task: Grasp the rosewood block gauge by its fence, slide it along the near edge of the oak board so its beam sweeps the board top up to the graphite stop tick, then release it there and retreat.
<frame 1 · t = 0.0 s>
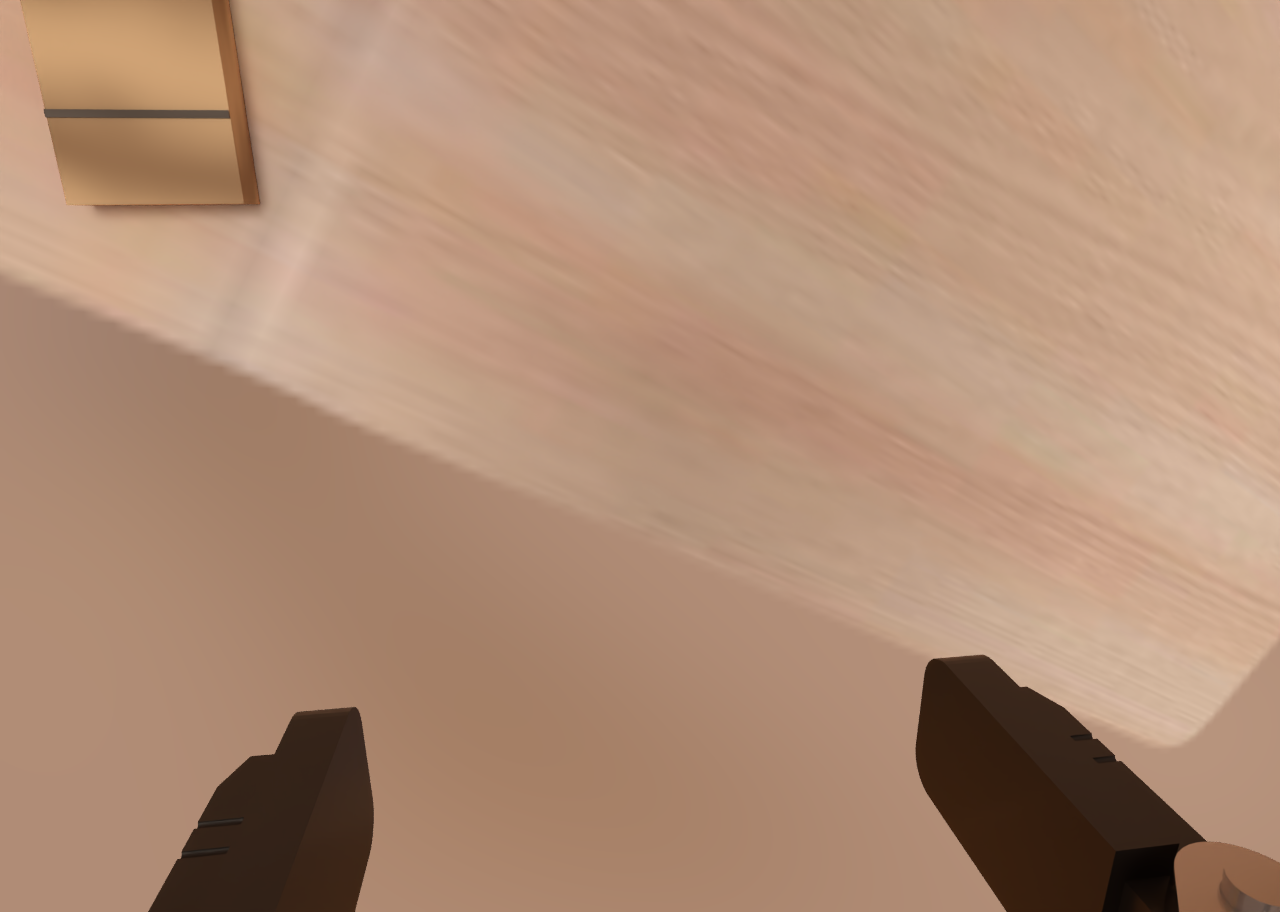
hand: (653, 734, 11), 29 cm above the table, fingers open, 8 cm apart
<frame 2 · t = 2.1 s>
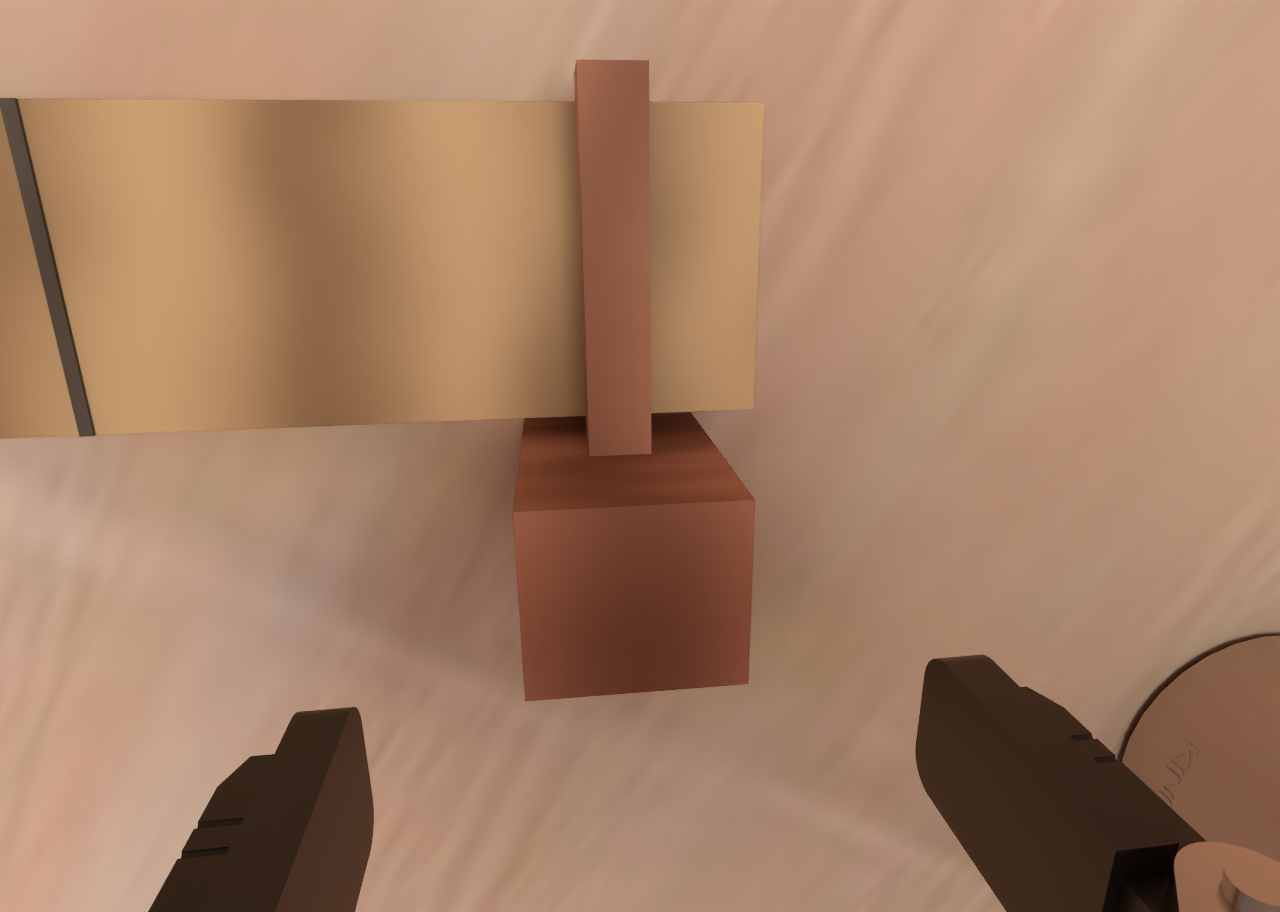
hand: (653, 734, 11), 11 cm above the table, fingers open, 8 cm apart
board: (362, 267, 19), on the table
gauge: (609, 483, 21), on the table
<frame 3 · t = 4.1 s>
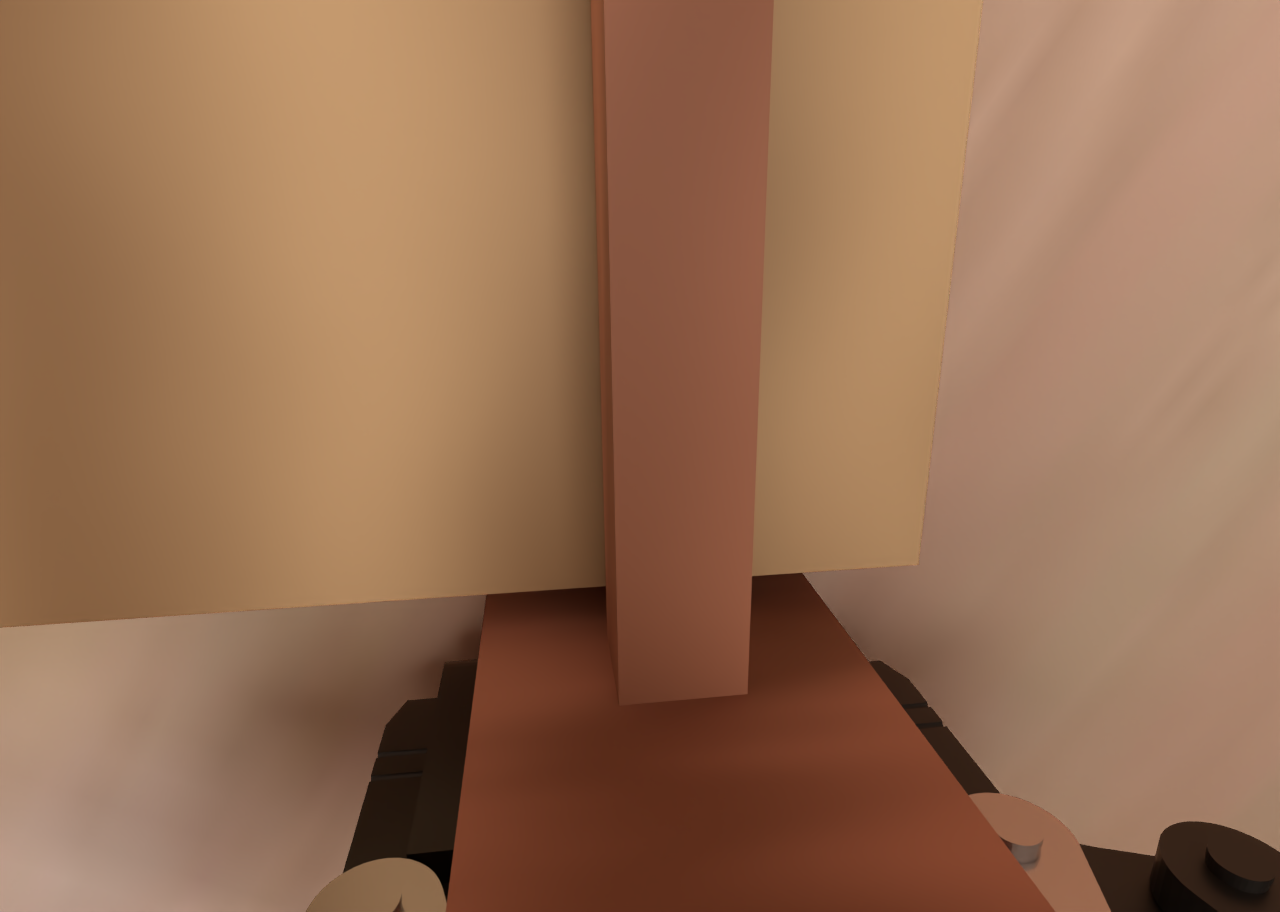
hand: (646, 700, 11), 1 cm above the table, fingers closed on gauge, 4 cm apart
board: (172, 297, 10), on the table
gauge: (639, 664, 12), on the table, touching gripper
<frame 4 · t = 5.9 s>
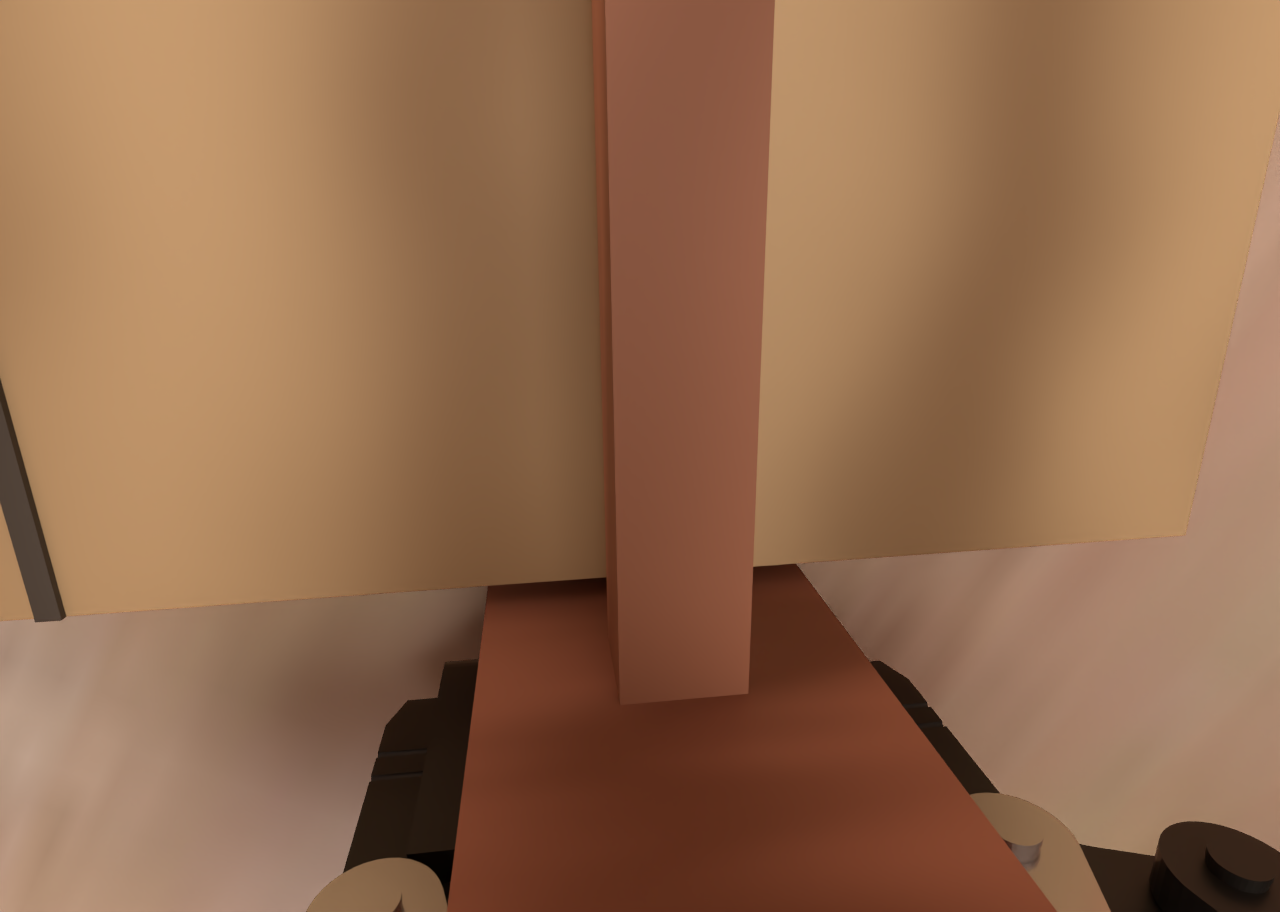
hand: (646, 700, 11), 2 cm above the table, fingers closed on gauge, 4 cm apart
board: (525, 299, 11), on the table
gauge: (640, 664, 12), point 1 cm above the table, touching gripper
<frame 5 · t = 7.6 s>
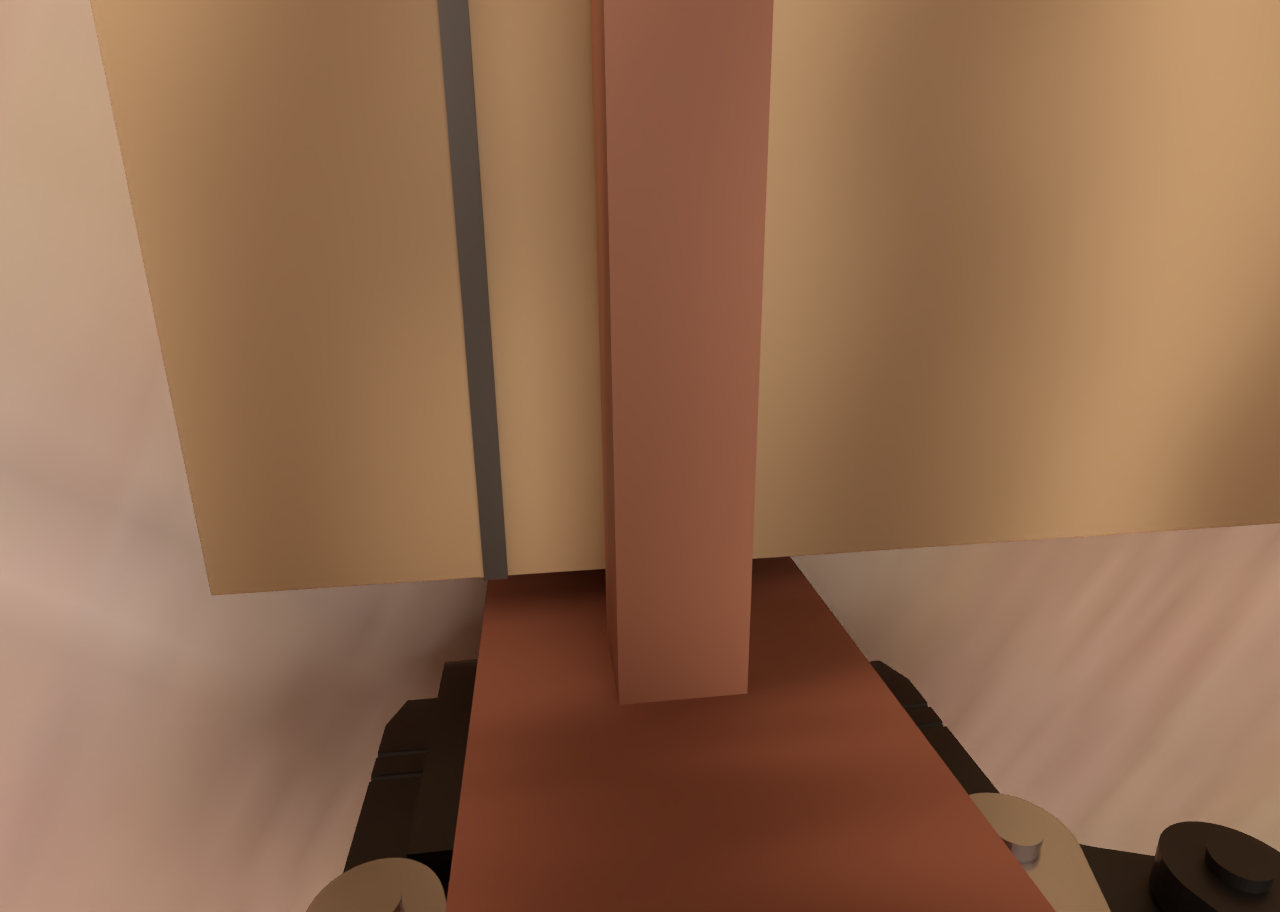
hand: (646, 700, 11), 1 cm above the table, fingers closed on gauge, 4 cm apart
board: (891, 278, 11), on the table
gauge: (639, 664, 12), on the table, touching gripper
when the fingers open (1 cm above the table, at t = 8.2 s): gauge stays where it is, on the table.
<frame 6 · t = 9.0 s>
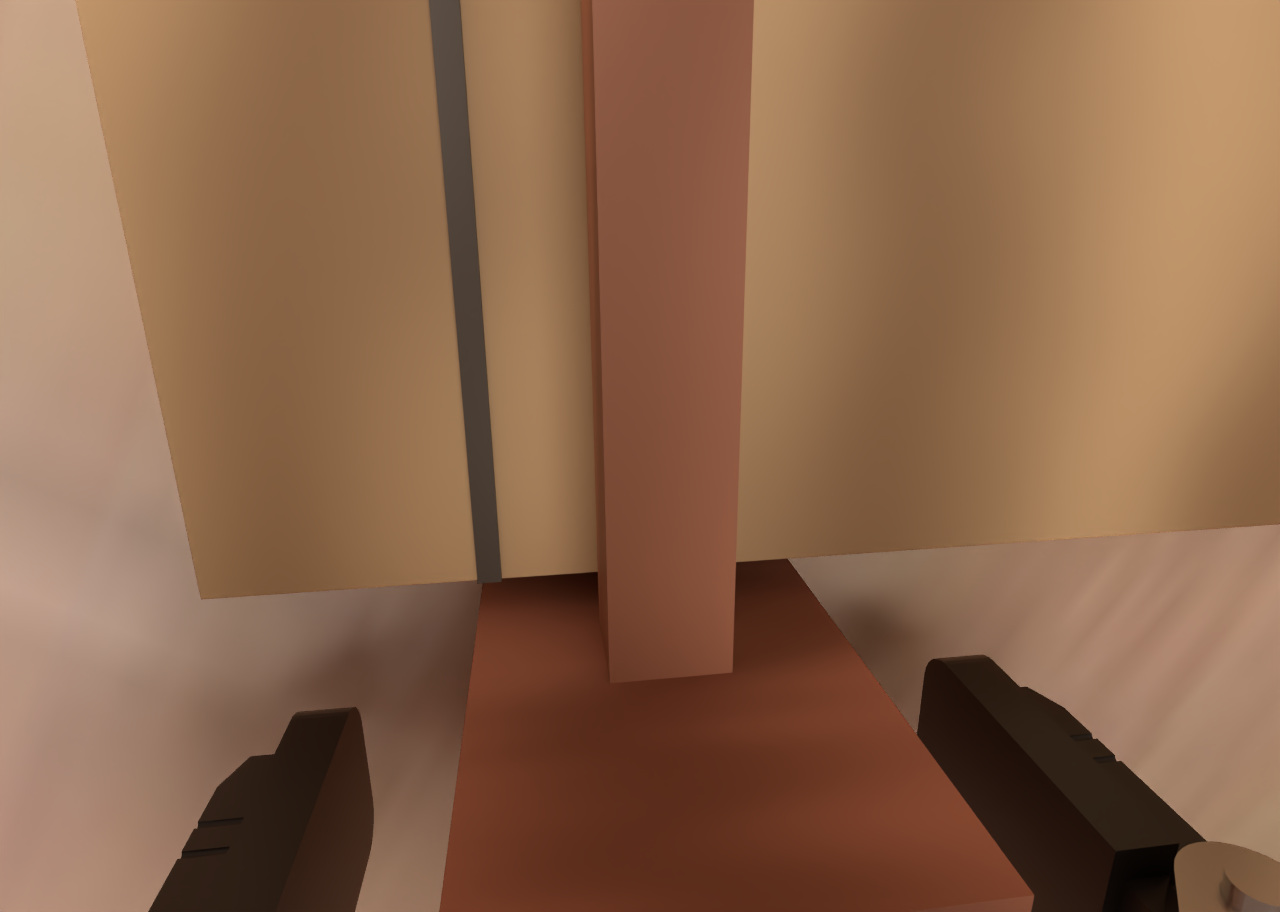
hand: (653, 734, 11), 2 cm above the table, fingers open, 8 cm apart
board: (888, 278, 11), on the table
gauge: (632, 649, 13), on the table
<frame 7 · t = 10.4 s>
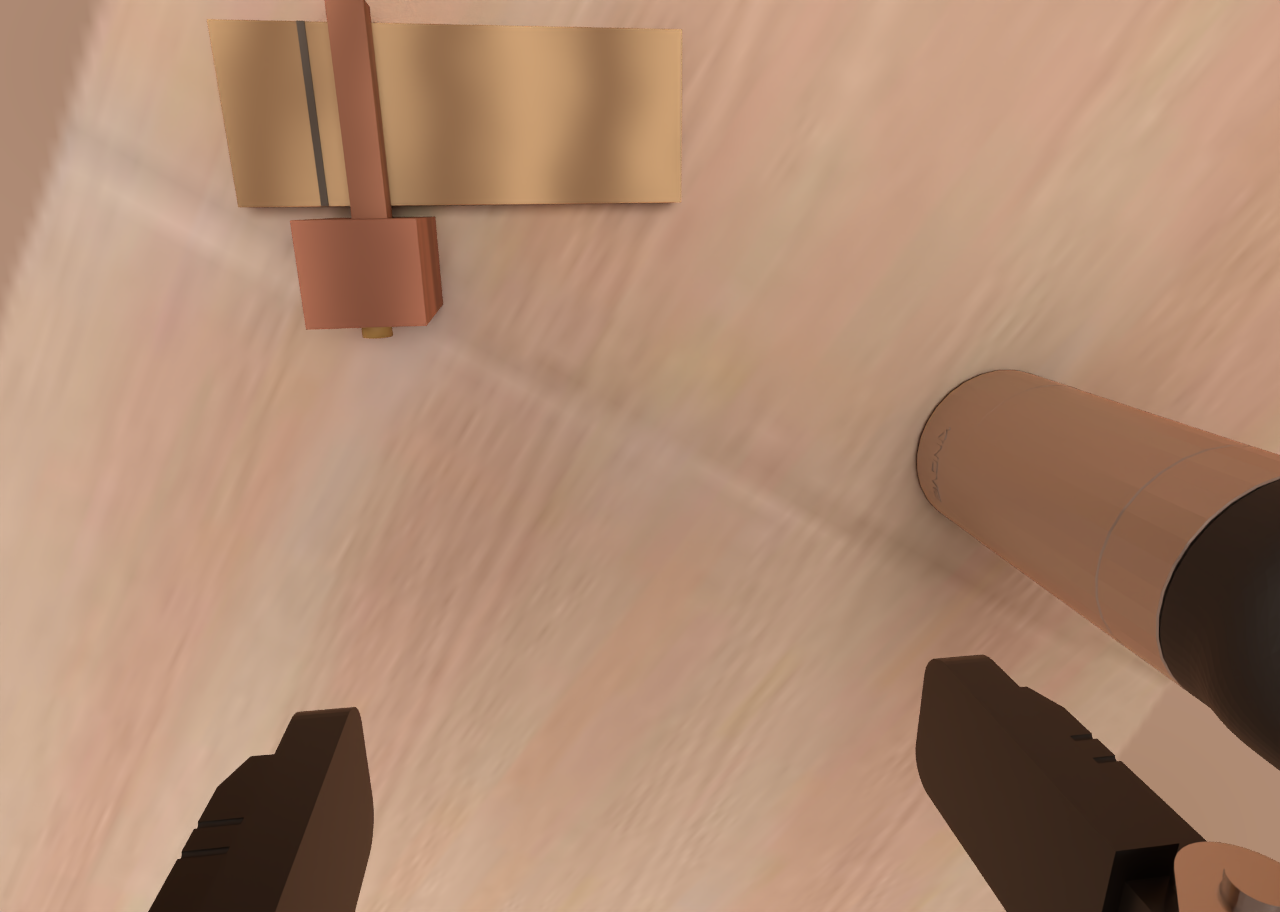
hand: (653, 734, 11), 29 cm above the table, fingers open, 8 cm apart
board: (464, 122, 34), on the table
gauge: (389, 262, 35), on the table
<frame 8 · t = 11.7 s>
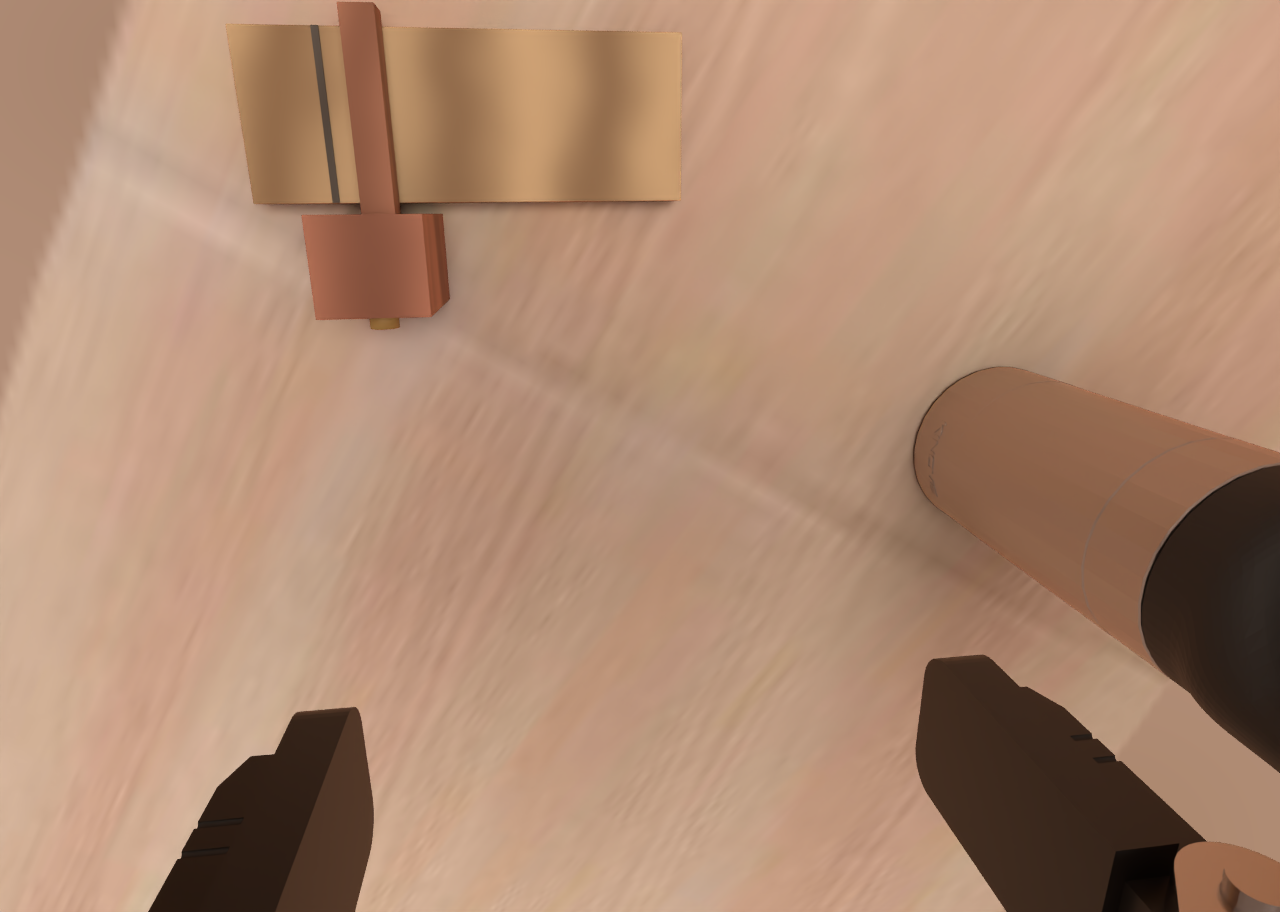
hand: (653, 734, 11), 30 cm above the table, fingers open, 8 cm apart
board: (471, 123, 35), on the table
gauge: (398, 257, 37), on the table
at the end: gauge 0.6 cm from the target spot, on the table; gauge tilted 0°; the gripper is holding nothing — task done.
